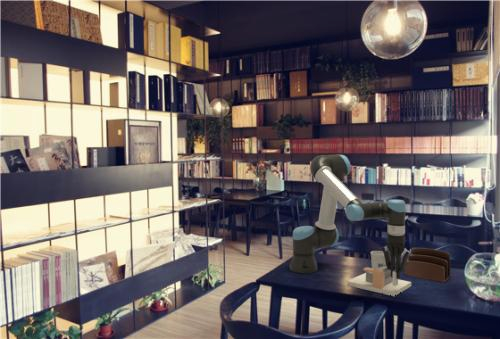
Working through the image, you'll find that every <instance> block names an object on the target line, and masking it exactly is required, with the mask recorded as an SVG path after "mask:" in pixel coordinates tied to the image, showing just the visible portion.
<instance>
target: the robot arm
mask: <svg viewBox="0 0 500 339" xmlns="http://www.w3.org/2000/svg"><path fill="white" fill-rule="evenodd" d="M351 165H352V164H351V162H350V160H349V158H348V157H347V156H346V155H344V154H321V155H317V156H315V157H314V158H313V159H312V160H311V162H310V165H309V166H310V167H309V170H310V174H311V176H312V177H313V178H314V180H315V181H316V182H317V183H321V184H322V185H323V190H322V194H321V195H322V197H321V203H320V210H319V214H318V221H316V222H315V223H314V227H313V226H312V225H303V226H297V227H296V228H294V229H293V231H292V238H291V239H292V257H291V260H290V262H289V270H290V271H292V272H294V273H298V274H299V273H300V274H310V273H311V274H312V273H315V272H317V271H318V264H317V260H316V258H315V250H320V249H328V248H329V249H330V248H331V247H335V246H336V245H337V243H338V241H339V236H340V235H339V234H340V233H339V231H338V229H337V226H336V224H335V218H336V212H337V206H338V202H339V203H340V205H341V206H342V207H343V208H344V209H345V215H346V218H347V219H348V220H349V221H350V222H351V221H353V222H355V221H357V222H359V221H365V220H373V219H374V220H375V219H384V220H387V233H388V234H387V237H386V238H387V240H386V241H387V243H386V245H385V246H383V247H381V251H383V252H384V257H385V262H386V265H385V266H386V267H387V270H389V269H390V270H391V278H393V281H392V286H397V285H398V279H399V280H400V278H401V272H405V266H406V262H407V261H408V256H409V255H411V250H408V249H407V247H406V245H405V242H406V236H405V234H406V211H407V210H406V202H405V201H404V200H403V199H388V201H387V202H384V201H380V200H379V201H378V200H376V201H375V200H372V201H370V202H364V203H363V202H362V201H361V200H360V199H359V198H358V197H357V196H356V194H354V193H353V192H352V191H351V190H350V189H349V188H348V187H347V186H346V184H344V183H343V182H344V181H345V177H347V176H348V175H349V174H350V173H351V169H352V168H351ZM402 254H403V257H402Z"/></svg>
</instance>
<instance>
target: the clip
mask: <svg viewBox="0 0 500 339" xmlns="http://www.w3.org/2000/svg"><path fill="white" fill-rule="evenodd" d="M362 270H363V271H364V272H366V271H368V272H373V287H375V288H379V289H381V288H383V287H385V271H384V270H379V269H373V268H372V267H368V266H367V267H364V268H363V269H362Z"/></svg>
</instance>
